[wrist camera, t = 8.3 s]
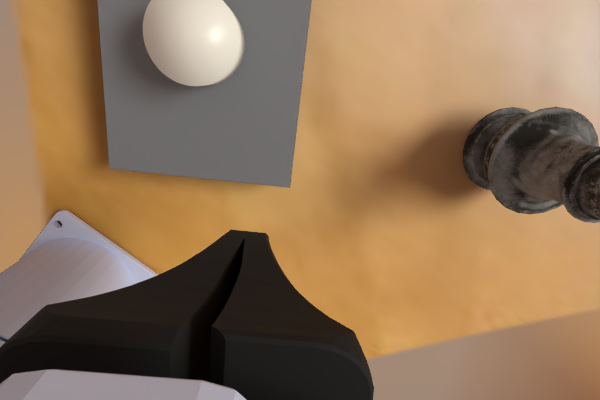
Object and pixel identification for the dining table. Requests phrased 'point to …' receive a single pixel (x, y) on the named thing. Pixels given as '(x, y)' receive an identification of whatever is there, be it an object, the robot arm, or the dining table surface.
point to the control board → (206, 98)
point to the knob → (193, 40)
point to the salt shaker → (537, 161)
